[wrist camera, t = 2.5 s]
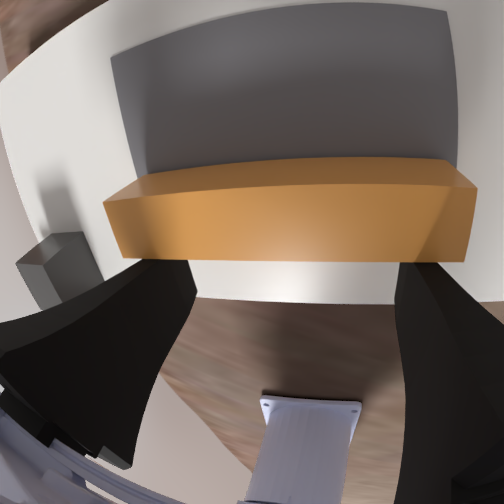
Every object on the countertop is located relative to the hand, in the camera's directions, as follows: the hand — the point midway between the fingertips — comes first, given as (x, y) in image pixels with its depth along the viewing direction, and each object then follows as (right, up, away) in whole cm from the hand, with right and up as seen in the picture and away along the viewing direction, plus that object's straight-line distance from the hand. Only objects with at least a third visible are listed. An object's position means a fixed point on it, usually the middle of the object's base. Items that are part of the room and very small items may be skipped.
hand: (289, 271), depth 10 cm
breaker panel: (0, +6, +1) cm, 6 cm away
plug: (-11, 0, +5) cm, 12 cm away
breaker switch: (0, +3, 0) cm, 3 cm away
